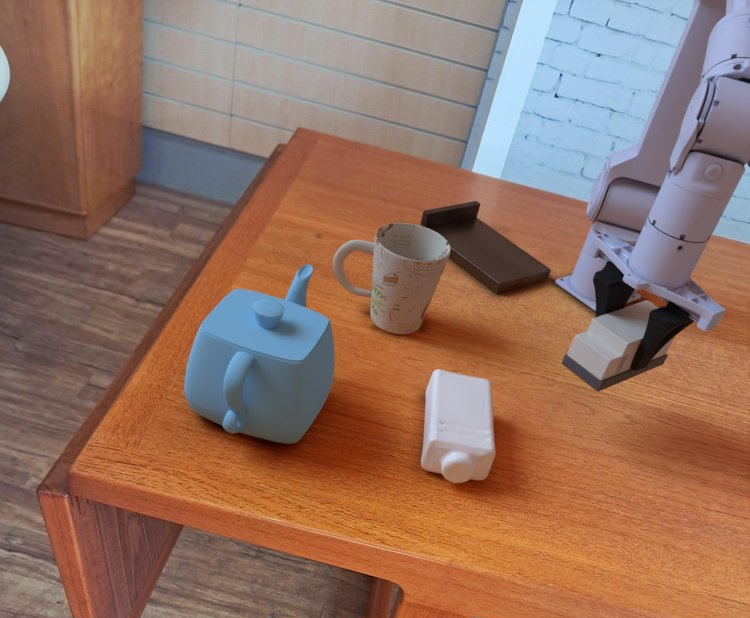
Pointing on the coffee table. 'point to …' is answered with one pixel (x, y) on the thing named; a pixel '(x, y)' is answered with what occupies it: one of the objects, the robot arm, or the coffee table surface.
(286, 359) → the teapot
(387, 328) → the mug
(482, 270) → the shoe shelf
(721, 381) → the coffee table surface
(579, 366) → the white stepped block
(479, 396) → the white bottle
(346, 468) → the coffee table surface
